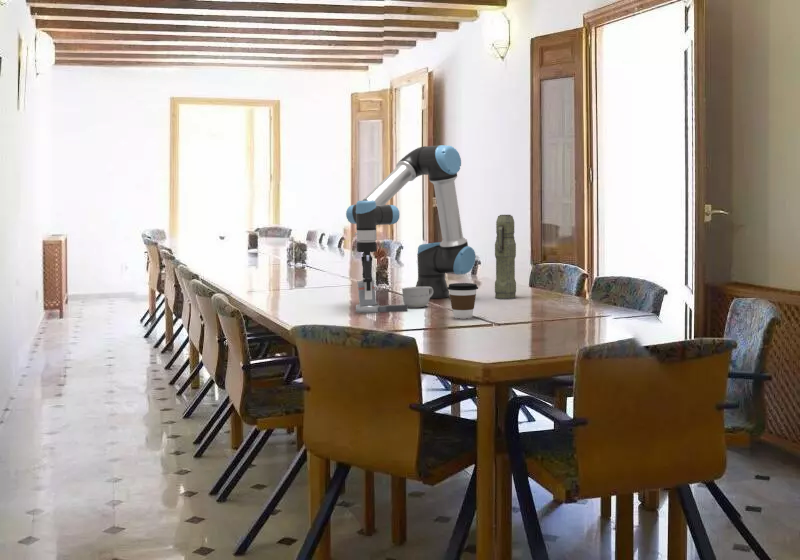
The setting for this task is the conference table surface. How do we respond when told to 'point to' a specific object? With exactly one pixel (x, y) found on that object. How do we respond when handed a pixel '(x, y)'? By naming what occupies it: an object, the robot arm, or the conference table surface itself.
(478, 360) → the conference table surface
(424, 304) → the teacup
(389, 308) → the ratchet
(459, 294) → the coffee cup
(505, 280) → the thermos
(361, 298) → the red-striped grey block
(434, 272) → the robot arm
